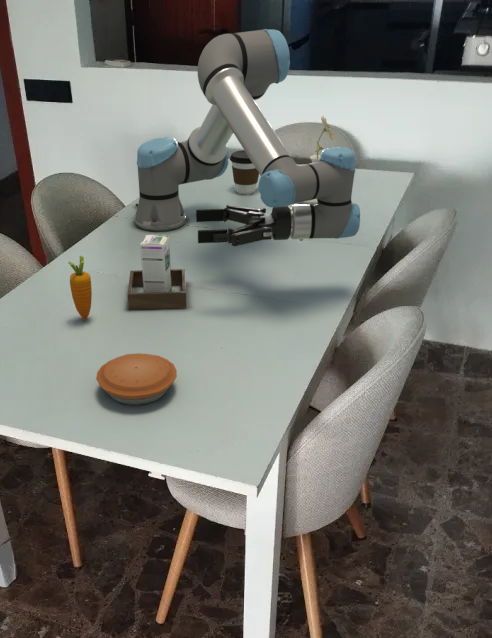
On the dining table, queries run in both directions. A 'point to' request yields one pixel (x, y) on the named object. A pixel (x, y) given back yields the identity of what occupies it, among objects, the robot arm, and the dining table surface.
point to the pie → (136, 378)
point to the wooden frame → (157, 293)
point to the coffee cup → (244, 172)
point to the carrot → (81, 289)
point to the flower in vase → (317, 157)
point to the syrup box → (156, 263)
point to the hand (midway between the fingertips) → (196, 225)
